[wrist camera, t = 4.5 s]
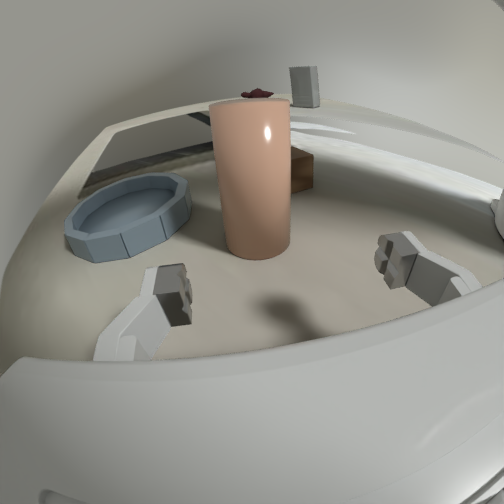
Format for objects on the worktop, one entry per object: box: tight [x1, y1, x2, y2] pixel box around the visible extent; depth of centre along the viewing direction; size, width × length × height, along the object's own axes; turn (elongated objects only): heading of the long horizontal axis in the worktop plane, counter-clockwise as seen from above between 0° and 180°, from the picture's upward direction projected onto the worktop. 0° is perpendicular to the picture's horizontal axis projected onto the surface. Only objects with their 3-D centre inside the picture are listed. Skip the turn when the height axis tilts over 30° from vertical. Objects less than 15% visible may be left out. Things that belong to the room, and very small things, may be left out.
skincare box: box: [289, 66, 320, 108], centre depth 81 cm, size 8×7×16 cm
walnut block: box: [291, 147, 313, 193], centre depth 29 cm, size 4×4×4 cm
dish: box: [64, 172, 192, 263], centre depth 26 cm, size 14×14×2 cm
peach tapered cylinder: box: [209, 98, 291, 260], centre depth 19 cm, size 5×5×11 cm
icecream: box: [241, 88, 274, 98], centre depth 95 cm, size 7×7×15 cm
